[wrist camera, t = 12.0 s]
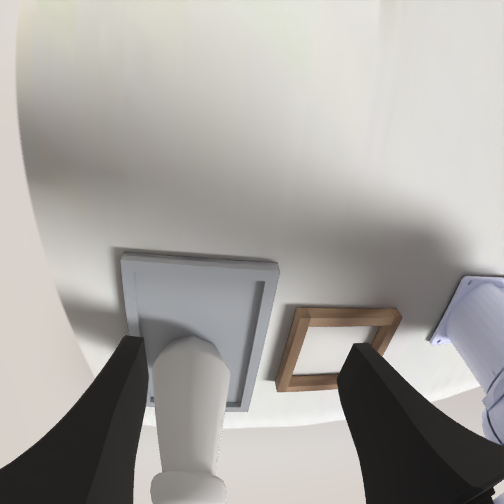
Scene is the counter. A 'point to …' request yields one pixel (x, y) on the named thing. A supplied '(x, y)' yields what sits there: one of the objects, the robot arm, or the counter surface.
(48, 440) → the robot arm
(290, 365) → the walnut collar
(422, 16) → the counter surface
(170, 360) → the salt shaker
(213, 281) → the grey tray
